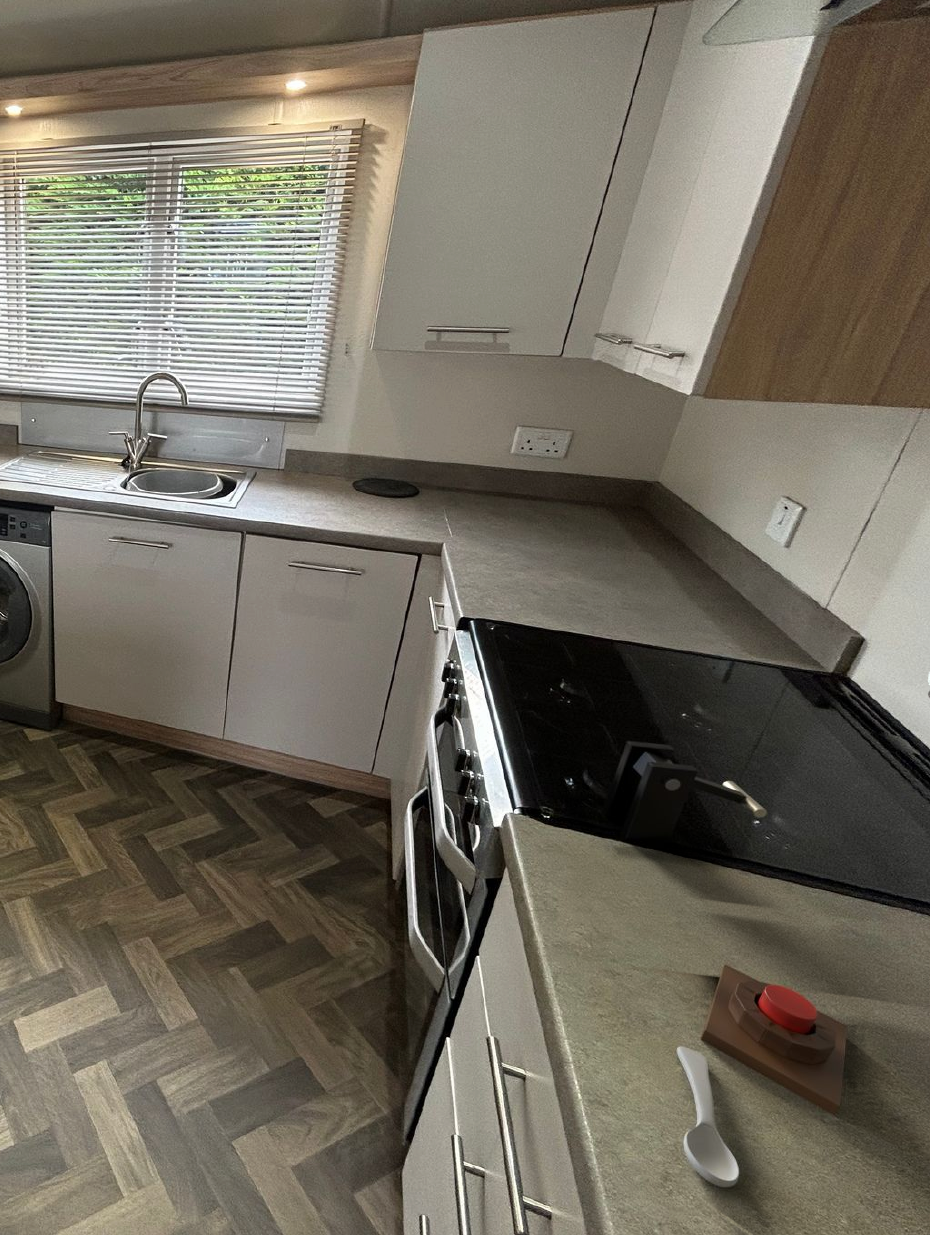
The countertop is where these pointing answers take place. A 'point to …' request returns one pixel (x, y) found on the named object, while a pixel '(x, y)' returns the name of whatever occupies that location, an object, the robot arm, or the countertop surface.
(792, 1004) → the power button
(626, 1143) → the countertop surface
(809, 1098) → the control block
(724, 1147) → the spoon
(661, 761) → the switch lever
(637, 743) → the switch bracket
